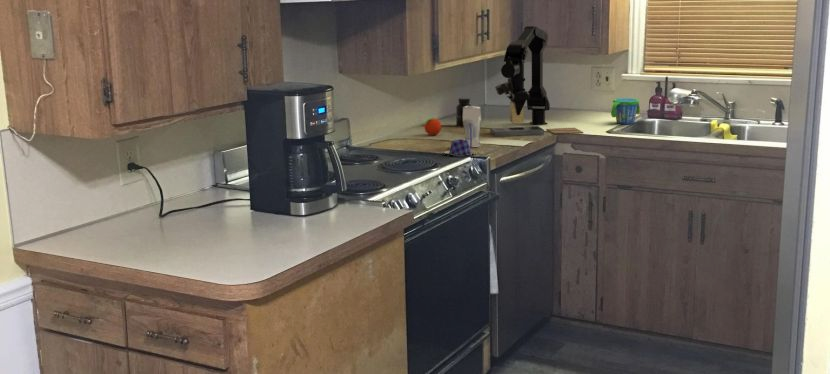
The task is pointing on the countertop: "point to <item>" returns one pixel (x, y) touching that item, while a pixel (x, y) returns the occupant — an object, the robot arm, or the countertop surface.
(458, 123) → the supplement bottle
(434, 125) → the clementine
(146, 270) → the countertop surface
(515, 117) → the wood grain block
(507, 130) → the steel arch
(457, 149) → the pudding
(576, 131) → the copper pad
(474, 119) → the beer glass
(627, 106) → the snack cup
